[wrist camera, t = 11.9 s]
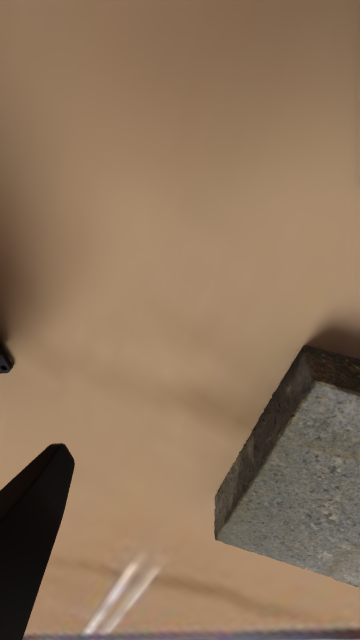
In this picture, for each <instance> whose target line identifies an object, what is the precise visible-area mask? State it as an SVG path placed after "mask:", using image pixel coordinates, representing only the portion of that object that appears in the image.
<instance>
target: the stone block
mask: <svg viewBox="0 0 360 640" xmlns="http://www.w3.org/2000/svg"><path fill="white" fill-rule="evenodd" d="M214 525H215V530H214V533H215V540H218V541H221V542H223V543H225V544H229V545H232V546H235V547H238V548H241V549H244V550H247V551H251V552H255V553H257V554H260V555H264V556H268V557H270V558H273V559H276V560H278V561H282V562H285V563H288V564H291V565H294V566H297V567H300V568H304V569H308V570H311V571H313V572H316V573H319V574H322V575H325V576H330V577H332V578H334V579H335V580H337V581H341V582H344V583H347V584H350V585H353V586H355V587H360V360H359V359H355V358H351V357H347V356H344V355H341V354H334V353H331V352H329V351H326V350H322V349H318V348H314V347H310V346H306V345H305V346H304V347H303V348H302V350H301V351H300V353H299V354H298V356H297V357H296V359H295V360H294V362H293V363H292V365H291V367H290V368H289V370H288V372H287V373H286V375H285V376H284V379H283V380H282V381H281V383H280V385H279V387H278V388H277V390H276V391H275V392H274V394H273V395H272V399H271V400H270V402H269V403H268V405H267V407H266V408H265V409H264V412H263V413H262V415H261V416H260V418H259V420H258V422H257V424H256V426H255V428H254V429H253V430H252V433H251V435H250V436H249V439H248V440H247V441H246V444H244V447H243V449H242V450H241V451H240V452H239V455H238V457H237V459H236V461H235V462H234V463H233V466H232V468H231V470H230V471H229V473H228V474H227V476H226V477H225V479H224V481H223V483H222V484H221V485H220V488H219V492H217V494H216V496H215V522H214Z"/></svg>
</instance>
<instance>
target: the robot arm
mask: <svg viewBox="0 0 360 640" xmlns="http://www.w3.org/2000/svg"><path fill="white" fill-rule="evenodd" d="M12 368H13V365H12V363H11V361H10V359H9V358H8V356H7V354H6V353H5V351H4V349H3V348H2V346H1V344H0V373H8V372H9V371H10V370H11V369H12ZM74 465H75V463H74V459H73V457H72V455H71V453H70V452H69V450H68V448H67V447H66V445H65V444H63V443H58V444H51V445H49V446H48V447H47V448H46V449H45V450H44V451H43V452H42V453H40V454H39V455H38V456H37V457H36V458H35V459H34V460H33V461H32V462H31V463H30V464H29V465H28V466H26V467H25V468H24V469H23V470H22V471H21V472H20V473H19V474H18V475H17V476H16V477H15V478H13V479H12V480H11V481H10V482H9V483H8V484H7V485H6V486H5V487H4V488H3V489H2V490H0V640H22V639H23V636H24V633H25V630H26V627H27V624H28V621H29V618H30V615H31V612H32V609H33V606H34V603H35V600H36V597H37V594H38V591H39V587H40V584H41V581H42V578H43V575H44V572H45V569H46V566H47V563H48V560H49V557H50V554H51V551H52V548H53V545H54V542H55V539H56V536H57V533H58V530H59V527H60V524H61V521H62V517H63V514H64V510H65V505H66V501H67V497H68V493H69V488H70V484H71V480H72V475H73V471H74Z"/></svg>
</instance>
